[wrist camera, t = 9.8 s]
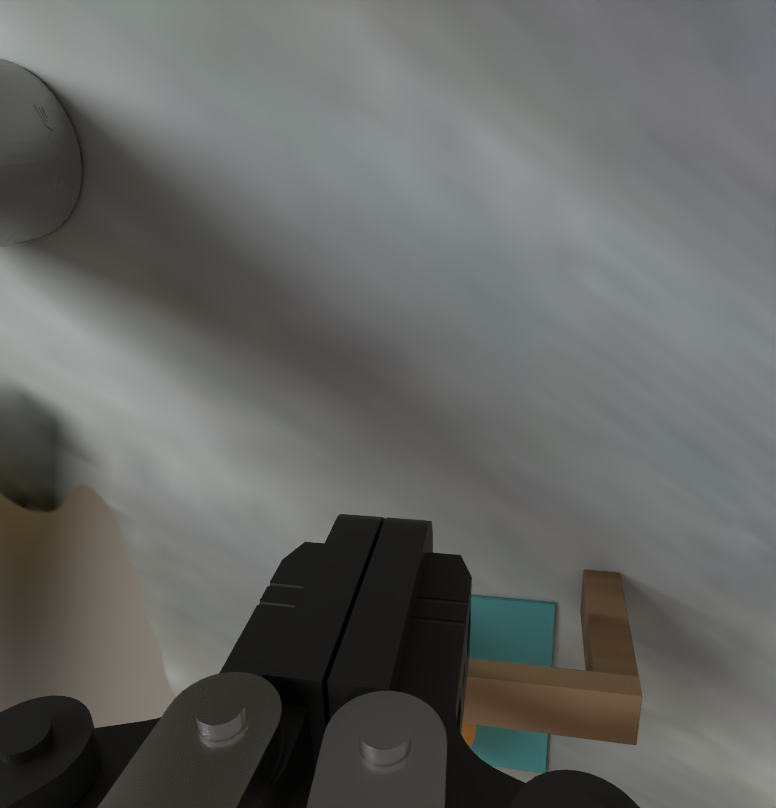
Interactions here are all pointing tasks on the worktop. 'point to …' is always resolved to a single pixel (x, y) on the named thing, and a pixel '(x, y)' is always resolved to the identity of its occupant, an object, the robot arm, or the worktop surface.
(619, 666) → the bridge
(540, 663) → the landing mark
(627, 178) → the worktop surface
